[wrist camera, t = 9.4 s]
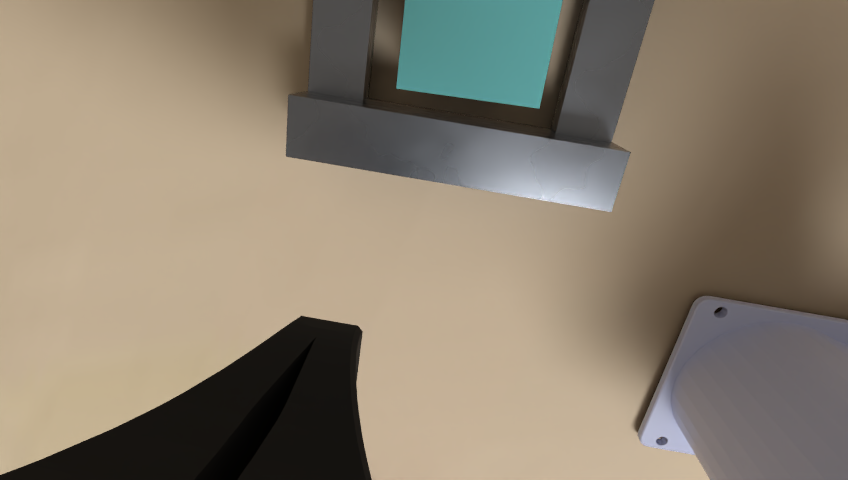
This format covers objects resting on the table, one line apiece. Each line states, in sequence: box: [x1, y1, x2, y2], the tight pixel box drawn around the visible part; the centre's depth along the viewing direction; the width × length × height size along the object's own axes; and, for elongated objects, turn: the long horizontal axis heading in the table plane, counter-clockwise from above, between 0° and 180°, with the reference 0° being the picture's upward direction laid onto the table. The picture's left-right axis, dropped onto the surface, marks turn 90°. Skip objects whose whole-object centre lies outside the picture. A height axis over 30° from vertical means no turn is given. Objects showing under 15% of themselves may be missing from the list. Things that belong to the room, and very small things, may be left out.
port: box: [286, 0, 655, 212], centre depth 15 cm, size 11×9×3 cm
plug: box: [396, 0, 563, 109], centre depth 13 cm, size 4×4×6 cm
